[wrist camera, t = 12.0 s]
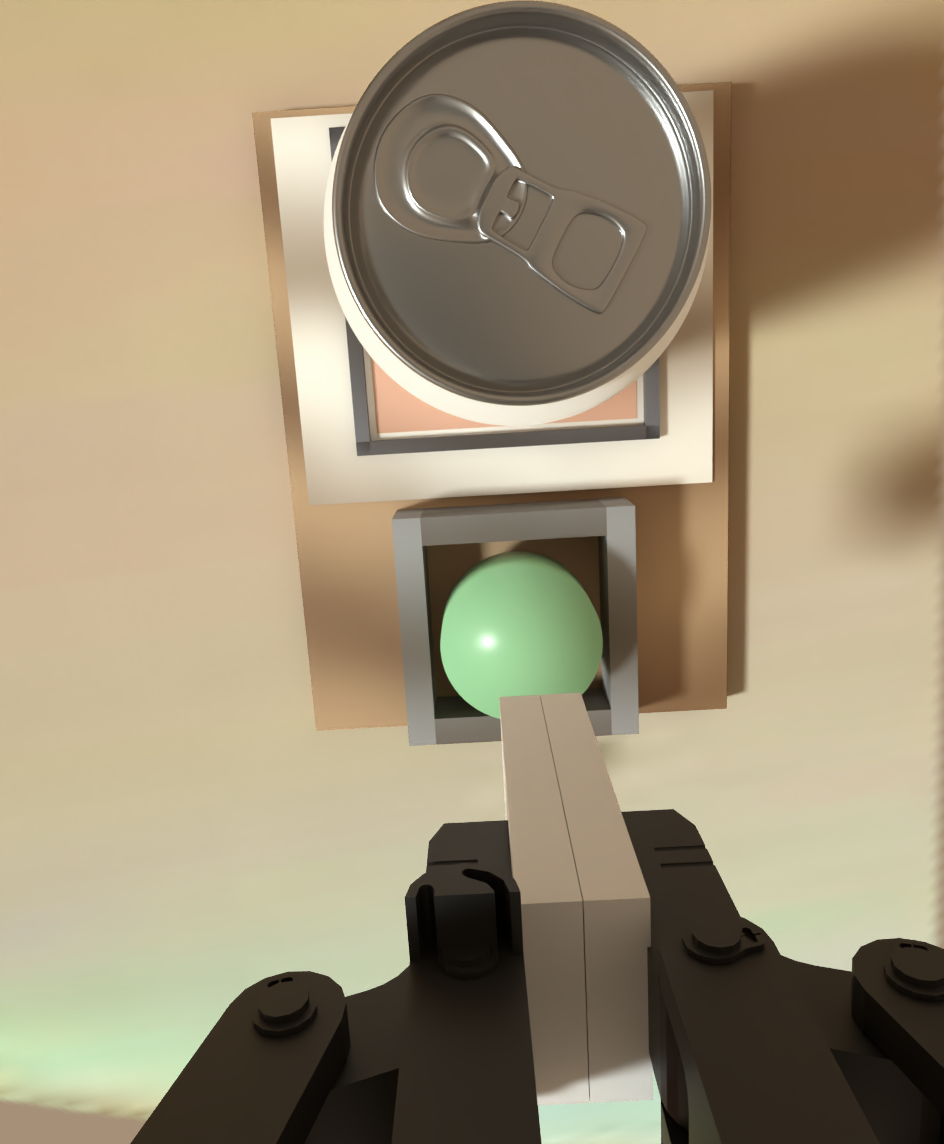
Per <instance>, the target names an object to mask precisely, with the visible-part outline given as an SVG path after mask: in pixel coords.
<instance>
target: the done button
mask: <svg viewBox="0 0 944 1144" xmlns="http://www.w3.org/2000/svg"><path fill="white" fill-rule="evenodd" d="M602 649H603V637H602V629H601V625H600V621H599V618H598V615H597V613H596V611H595V609H594V607H593V605H592V603H591V601H590V599H589V597H588V595H587V593H586V592H585V590H584V588H583V586H582V584H581V583H580V582H579V580H578V579H577V578H576V577H575V576H574V574H573V573H572V572H571V571H570V570H568V569H567V568H566V567H565V566H563V565H562V564H560V563H559V562H557V561H555V560H554V559H551V558H549V557H547V556H544V555H541V554H537V553H533V552H526V551H512V552H504V553H500V554H496V555H493V556H491V557H488V558H486V559H484V560H482V561H480V562H478V563H476V564H475V565H474V566H472V567H471V568H470V569H468V570H467V571H466V572H465V573H464V574H463V575H462V576H461V577H460V579H459V580H458V581H457V582H456V584H455V585H454V587H453V589H452V590H451V592H450V594H449V597H448V599H447V602H446V605H445V609H444V615H443V623H442V631H441V639H440V651H441V658H442V662H443V666H444V670H445V672H446V674H447V677H448V679H449V681H450V682H451V684H452V685H453V687H454V688H455V690H456V691H457V692H458V693H459V695H460V696H461V697H462V698H463V699H464V700H465V701H466V702H467V703H469V704H470V705H472V706H473V707H474V708H476V709H477V710H479V711H481V712H483V713H485V714H487V715H490V716H492V717H495V718H499V719H500V703H499V697H509V696H527V695H546V694H565V693H581V695H582V694H583V693H584V692H585V691H586V690H587V689H588V687H589V685H590V684H591V682H592V681H593V679H594V677H595V675H596V673H597V671H598V668H599V664H600V661H601V656H602Z"/></svg>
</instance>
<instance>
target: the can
mask: <svg viewBox="0 0 944 1144" xmlns="http://www.w3.org/2000/svg"><path fill="white" fill-rule="evenodd" d="M710 220H711V181H710V172H709V166H708V160H707V155H706V150H705V147H704V143H703V139H702V136H701V133H700V130H699V127H698V125H697V122H696V120H695V117H694V115H693V113H692V110H691V108H690V106H689V104H688V102H687V101H686V99H685V97H684V95H683V93H682V92H681V90H680V89H679V87H678V85H677V84H676V82H675V81H674V80H673V78H672V77H671V75H670V74H669V73H668V71H667V70H666V69H665V68H664V67H663V65H662V64H661V63H660V62H659V61H658V60H657V59H656V58H655V57H654V56H653V55H652V54H651V53H650V52H649V51H648V50H647V49H646V48H645V47H644V46H643V45H642V44H640V43H639V42H638V41H637V40H636V39H634V38H633V37H632V36H630V35H629V34H627V33H626V32H625V31H623V30H622V29H620V28H618V27H617V26H615V25H613V24H612V23H610V22H608V21H606V20H604V19H602V18H600V17H598V16H596V15H593V14H591V13H588V12H586V11H583V10H580V9H577V8H573V7H570V6H566V5H562V4H556V3H551V2H543V1H506V2H498V3H492V4H487V5H482V6H478V7H475V8H471V9H468V10H465V11H462V12H460V13H457V14H455V15H452V16H450V17H448V18H446V19H444V20H442V21H440V22H438V23H436V24H434V25H433V26H431V27H429V28H428V29H426V30H425V31H423V32H422V33H420V34H419V35H417V36H416V37H415V38H413V39H412V40H411V41H409V42H408V43H407V44H406V45H404V46H403V47H402V48H401V49H400V50H399V51H398V52H397V53H396V54H395V55H394V56H393V57H392V58H391V59H390V60H389V61H388V62H387V63H386V64H385V65H384V66H383V67H382V69H381V70H380V71H379V72H378V74H377V75H376V76H375V77H374V79H373V80H372V82H371V83H370V84H369V86H368V87H367V89H366V90H365V92H364V94H363V95H362V97H361V99H360V100H359V102H358V104H357V106H356V108H355V110H354V112H353V113H352V115H351V117H350V119H349V121H348V122H347V124H346V126H345V129H344V131H343V133H342V135H341V138H340V140H339V142H338V145H337V148H336V151H335V153H334V157H333V160H332V163H331V167H330V171H329V176H328V181H327V186H326V193H325V202H324V242H325V251H326V257H327V263H328V268H329V273H330V276H331V280H332V284H333V287H334V290H335V293H336V296H337V298H338V301H339V303H340V306H341V308H342V311H343V313H344V315H345V317H346V319H347V321H348V323H349V325H350V327H351V328H352V330H353V332H354V334H355V335H356V337H357V338H358V340H359V341H360V343H361V344H362V346H363V347H364V349H365V350H366V351H367V353H368V354H369V355H370V356H371V358H372V359H373V360H374V361H375V362H376V363H377V365H378V366H379V367H380V368H381V369H382V370H383V371H384V372H385V373H386V374H387V375H388V376H389V377H390V378H392V379H393V380H394V381H395V382H396V383H397V384H399V385H400V386H401V387H402V388H404V389H405V390H406V391H408V392H409V393H411V394H412V395H414V396H415V397H417V398H418V399H420V400H421V401H423V402H425V403H427V404H429V405H430V406H433V407H435V408H437V409H439V410H441V411H443V412H446V413H448V414H451V415H454V416H456V417H460V418H463V419H466V420H470V421H474V422H479V423H485V424H491V425H502V426H526V425H536V424H544V423H549V422H554V421H558V420H562V419H565V418H569V417H572V416H574V415H577V414H580V413H582V412H585V411H587V410H589V409H592V408H594V407H596V406H598V405H600V404H602V403H603V402H605V401H607V400H609V399H610V398H612V397H613V396H615V395H616V394H618V393H619V392H621V391H622V390H624V389H625V388H626V387H628V386H629V385H630V384H632V383H633V382H634V381H635V380H637V379H638V378H639V377H640V376H641V375H642V374H643V373H644V372H645V371H646V370H647V369H648V368H649V367H650V366H651V365H652V364H653V363H654V362H655V361H656V360H657V359H658V358H659V356H660V355H661V354H662V353H663V352H664V350H665V349H666V348H667V347H668V345H669V344H670V342H671V341H672V340H673V338H674V337H675V335H676V333H677V332H678V330H679V329H680V327H681V325H682V323H683V322H684V320H685V318H686V316H687V314H688V312H689V310H690V308H691V306H692V303H693V301H694V298H695V296H696V293H697V291H698V288H699V285H700V282H701V278H702V275H703V271H704V267H705V262H706V257H707V251H708V245H709V235H710Z"/></svg>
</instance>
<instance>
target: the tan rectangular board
mask: <svg viewBox="0 0 944 1144" xmlns="http://www.w3.org/2000/svg"><path fill="white" fill-rule="evenodd" d="M678 87H679V89H680V90H681V92H682V93H683V95H684V97H685V99H686V101H687V102H688V104H689V106H690V108H691V110H692V113H693V115H694V117H695V120H696V122H697V125H698V127H699V130H700V133H701V136H702V139H703V143H704V147H705V150H706V155H707V160H708V166H709V172H710V181H711V220H710V235H709V245H708V251H707V257H706V262H705V267H704V271H703V275H702V278H701V282H700V285H699V288H698V291H697V293H696V296H695V298H694V301H693V303H692V306H691V308H690V310H689V312H688V314H687V316H686V318H685V320H684V322H683V323H682V325H681V327H680V329H679V330H678V332H677V333H676V335H675V337H674V338H673V340H672V341H671V342H670V344H669V345H668V347H667V348H666V349H665V350H664V352H663V353H662V354H661V355H660V356H659V358H658V359H657V360H656V361H655V362H654V363H653V364H652V365H651V366H650V367H649V368H648V369H647V370H646V371H645V372H644V373H643V374H642V375H641V376H640V377H639V378H638V379H637V380H635V381H634V382H633V383H632V384H630V385H629V386H628V387H626V388H625V389H624V390H622V391H621V392H619V393H618V394H616V395H615V396H613V397H612V398H610V399H609V400H607V401H605V402H603V403H602V404H600V405H598V406H596V407H594V408H592V409H589V410H587V411H585V412H582V413H580V414H577V415H574V416H572V417H569V418H565V419H562V420H558V421H554V422H549V423H544V424H536V425H526V426H502V425H491V424H485V423H479V422H474V421H470V420H466V419H463V418H460V417H456V416H454V415H451V414H448V413H446V412H443V411H441V410H439V409H437V408H435V407H433V406H430V405H429V404H427V403H425V402H423V401H421V400H420V399H418V398H417V397H415V396H414V395H412V394H411V393H409V392H408V391H406V390H405V389H404V388H402V387H401V386H400V385H399V384H397V383H396V382H395V381H394V380H393V379H392V378H390V377H389V376H388V375H387V374H386V373H385V372H384V371H383V370H382V369H381V368H380V367H379V366H378V365H377V363H376V362H375V361H374V360H373V359H372V358H371V356H370V355H369V354H368V353H367V351H366V350H365V349H364V347H363V346H362V344H361V343H360V341H359V340H358V338H357V337H356V335H355V334H354V332H353V330H352V328H351V327H350V325H349V323H348V321H347V319H346V317H345V315H344V313H343V311H342V308H341V306H340V303H339V301H338V298H337V296H336V293H335V290H334V287H333V284H332V280H331V276H330V273H329V268H328V263H327V257H326V251H325V242H324V202H325V193H326V186H327V181H328V176H329V171H330V167H331V163H332V160H333V157H334V153H335V151H336V148H337V145H338V142H339V140H340V138H341V135H342V133H343V131H344V129H345V126H346V124H347V122H348V121H349V119H350V117H351V115H352V113H353V112H354V110H355V108H356V106H349V107H334V108H318V109H302V110H287V111H271V112H255V113H252V116H253V125H254V135H255V144H256V154H257V164H258V173H259V183H260V193H261V202H262V212H263V221H264V231H265V241H266V250H267V260H268V270H269V279H270V289H271V298H272V308H273V318H274V327H275V337H276V347H277V356H278V366H279V375H280V385H281V395H282V404H283V414H284V423H285V433H286V443H287V452H288V462H289V472H290V481H291V491H292V500H293V510H294V520H295V529H296V539H297V549H298V558H299V568H300V577H301V587H302V597H303V606H304V616H305V626H306V635H307V645H308V654H309V664H310V674H311V683H312V693H313V703H314V712H315V722H316V730H334V729H353V728H371V727H390V726H408V734H409V746H416V745H435V744H454V743H472V742H491V741H502V740H501V722H500V719H499V718H495V717H492V716H490V715H487V714H485V713H483V712H481V711H479V710H477V709H476V708H474V707H473V706H472V705H470V704H469V703H467V702H466V701H465V700H464V699H463V698H462V697H461V696H460V695H459V693H458V692H457V691H456V690H455V688H454V687H453V685H452V684H451V682H450V681H449V679H448V677H447V674H446V672H445V670H444V666H443V662H442V658H441V651H440V639H441V631H442V623H443V615H444V609H445V605H446V602H447V599H448V597H449V594H450V592H451V590H452V589H453V587H454V585H455V584H456V582H457V581H458V580H459V579H460V577H461V576H462V575H463V574H464V573H465V572H466V571H467V570H468V569H470V568H471V567H472V566H474V565H475V564H476V563H478V562H480V561H482V560H484V559H486V558H488V557H491V556H493V555H496V554H500V553H504V552H512V551H526V552H533V553H537V554H541V555H544V556H547V557H549V558H551V559H554V560H555V561H557V562H559V563H560V564H562V565H563V566H565V567H566V568H567V569H568V570H570V571H571V572H572V573H573V574H574V576H575V577H576V578H577V579H578V580H579V582H580V583H581V584H582V586H583V588H584V590H585V592H586V593H587V595H588V597H589V599H590V601H591V603H592V605H593V607H594V609H595V611H596V613H597V615H598V618H599V621H600V625H601V629H602V637H603V649H602V656H601V661H600V664H599V668H598V671H597V673H596V675H595V677H594V679H593V681H592V682H591V684H590V685H589V687H588V689H587V690H586V691H585V692H584V693H583V694H582V698H583V701H584V704H585V707H586V710H587V713H588V716H589V719H590V722H591V725H592V728H593V731H594V734H595V736H604V735H623V734H639V713H651V712H670V711H688V710H707V709H725V708H727V588H728V447H729V307H730V167H731V82H726V83H710V84H694V85H679V86H678Z"/></svg>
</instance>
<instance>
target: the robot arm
mask: <svg viewBox="0 0 944 1144" xmlns="http://www.w3.org/2000/svg"><path fill="white" fill-rule="evenodd" d="M499 703H500V722H501V740H502V759H503V777H504V796H505V814H506V820H505V821H485V822H466V823H447V824H443V826H442V827H441V828H440V829H439V830H438V832H437V833H436V834H435V835H434V836H433V838H432V839H431V840H430V841H429V848H428V859H427V869H426V873H425V874H423V875H422V876H421V877H419V878H418V879H417V880H416V881H415V882H413V883H412V884H411V885H410V887H409V890H408V892H407V894H406V896H405V906H406V918H407V930H408V942H409V954H410V965H409V967H407V968H406V969H405V970H404V971H403V972H402V973H401V974H400V975H399V976H397V977H395V978H394V979H392V980H390V981H389V982H387V983H385V984H384V985H381V986H378V987H376V988H373V989H370V990H368V991H364V992H361V993H358V994H354V995H351V996H347V997H345V996H344V993H343V990H342V987H341V986H339V985H338V984H337V983H336V982H335V981H333V980H332V979H331V978H330V977H328V976H325V975H321V974H318V973H314V972H311V971H302V972H286V973H282V974H278V975H275V976H271V977H268V978H265V979H263V980H261V981H259V982H258V983H256V984H254V985H252V986H250V987H249V988H247V989H245V990H244V991H243V992H242V993H241V994H240V995H239V996H238V997H237V998H236V999H235V1000H234V1001H233V1002H232V1003H231V1004H230V1005H229V1007H228V1008H227V1009H226V1011H225V1012H224V1014H223V1015H222V1016H221V1018H220V1019H219V1021H218V1022H217V1023H216V1025H215V1026H214V1028H213V1029H212V1030H211V1032H210V1033H209V1035H208V1036H207V1037H206V1039H205V1040H204V1042H203V1043H202V1044H201V1046H200V1047H199V1049H198V1050H197V1051H196V1053H195V1054H194V1056H193V1057H192V1058H191V1060H190V1061H189V1062H188V1064H187V1065H186V1067H185V1068H184V1069H183V1071H182V1072H181V1074H180V1075H179V1076H178V1078H177V1079H176V1081H175V1082H174V1083H173V1085H172V1086H171V1088H170V1089H169V1090H168V1092H167V1093H166V1095H165V1096H164V1097H163V1099H162V1100H161V1102H160V1103H159V1104H158V1106H157V1107H156V1109H155V1110H154V1111H153V1113H152V1114H151V1116H150V1117H149V1118H148V1120H147V1121H146V1123H145V1124H144V1126H143V1127H142V1128H141V1130H140V1131H139V1132H138V1134H137V1135H136V1137H135V1138H134V1140H133V1141H132V1142H131V1144H541V1135H540V1125H539V1114H538V1105H553V1104H574V1103H589V1098H590V1103H596V1102H617V1101H638V1100H653V1070H654V1074H655V1078H656V1081H657V1085H658V1089H659V1093H660V1097H661V1144H944V949H942V948H940V947H937V946H934V945H931V944H929V943H926V942H921V941H916V940H910V939H902V938H895V939H882V940H876V941H873V942H871V943H869V944H866V945H864V946H862V947H860V949H859V950H858V951H857V953H856V954H855V956H854V957H853V958H852V972H850V971H844V970H838V969H832V968H826V967H820V966H814V965H810V964H806V963H802V962H798V961H794V960H792V959H789V958H787V957H784V956H781V955H780V953H779V951H778V949H777V947H776V946H775V944H774V942H773V941H772V940H771V938H770V937H769V936H768V935H767V934H766V932H765V931H764V930H763V929H762V928H760V927H759V926H757V925H755V924H753V923H752V922H750V921H748V920H747V919H745V918H742V917H740V915H739V913H738V911H737V909H736V907H735V905H734V903H733V901H732V899H731V897H730V895H729V893H728V891H727V889H726V887H725V885H724V883H723V881H722V879H721V877H720V875H719V873H718V871H717V869H716V867H715V865H713V861H712V859H711V856H710V854H709V852H708V850H707V849H705V844H704V842H703V840H702V838H701V836H700V834H699V832H698V830H697V828H696V826H695V825H694V824H692V823H691V822H690V821H688V820H687V819H686V818H684V817H683V816H682V815H680V814H679V813H678V812H676V811H675V810H674V809H669V810H650V811H631V812H621V810H620V807H619V804H618V801H617V798H616V795H615V792H614V790H613V787H612V784H611V781H610V778H609V775H608V772H607V769H606V766H605V763H604V760H603V757H602V754H601V751H600V748H599V745H598V743H597V740H596V737H595V734H594V731H593V728H592V725H591V722H590V719H589V716H588V713H587V710H586V707H585V704H584V701H583V698H582V695H581V693H565V694H546V695H527V696H509V697H499Z"/></svg>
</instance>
